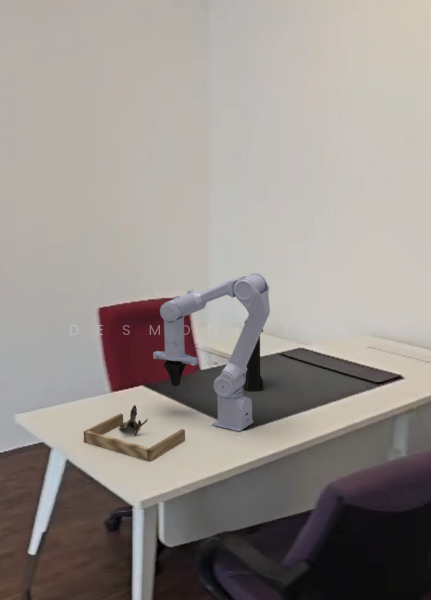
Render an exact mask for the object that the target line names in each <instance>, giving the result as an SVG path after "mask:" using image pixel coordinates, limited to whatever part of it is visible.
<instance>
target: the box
mask: <svg viewBox="0 0 431 600" xmlns="http://www.w3.org/2000/svg"><path fill="white" fill-rule="evenodd" d="M123 423H124V414H122V413H118V414H117V415H115V416H112V417H110V418H108V419H106V420H104V421H102V422H100V423H98V424H96V425H94V426H91V427H90V428H88V429H85V430H84V431H83V442H84V443H87V444H89V445H92V446H93V445H94V446H95V447H100V448H103V449H107V450H111V451H114V452H116V453H121V454H125V455H127V456H130V457H133V458H134V457H135V458H138V459H141V460H145V461H147V462H152V461H154V460H156V459H157V458H159V457H160V456H162V455H163V454H165V453H167V452H169V451H170V450H172V449H174V448H175V447H177V446H178V445H180V444H181V443H183V442H185V441H186V429H184V428H181V429H179V430H178V431H176V432H175V433H172V434H171V435H169V436H168V437H165V438H164V439H163V440H161V441H159V442H158V443H156V444H154V445H152V446H151V447H147V446H144V445H140V444H136V443H133V442H130V441H125V440H123V439H119V438H116V437H111V436H108V435H105V434H107V433H109V432H110V431H112V430H114V429H116V428H119V427H120V426H121V425H122V424H123Z"/></svg>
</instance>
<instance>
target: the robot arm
mask: <svg viewBox="0 0 431 600" xmlns="http://www.w3.org/2000/svg"><path fill="white" fill-rule="evenodd" d="M186 292H187V293H185V294H183V295H181V296H179V295H176V296H175V297H173V299H171V300H169V301H165V303H162V305H160V309H159V314H160V317H161V318H162V319H163V331H164V335H163V336H164V351H159V350H156V351H154V352H153V355H152V356H153V360H164V361H165V362H164V363H163V368H164V369H165V370H166V372H167V374H168V376H169V379H170V382H171V383H170V384H171V386H172V387H178V386H180V383H181V379H182V375H183V372H184V371H185V368H186V366H187V365H191V366H197V365H198V363H199V362H198V360H199V359H198V357H195V356H192V355H190V354H187V353H186V349H185V348H186V347H185V325H184V324H185V317H186V316H188V315H192V314H194V313H196V312H198V311H202V310H203V309H205V308H206V306H207V303H209V302H211V301H213V300H214V301H215V300H217V299H220V298H223V297H226V296H229V297H231V298H236V299H237V300H238V301H239V302H240V304H242V306H243V307H244V308H245V309H246V311H247V313H248V316H247V318H246V319H247V320H246V319H245V321H246V323H245V322H244V325H243V328H242V330H241V332H240V334H239V337H238V339H237V341H236V344H235V347H234V348H233V351H232V353H231V355H230V358H229V360H228V363H227V364H226V365H225V367H224V368H223V369H222V370H221V373H220V374H219V376H217V377H216V378H214V381H213V385H212V386H213V390H214V392H215V394H216V395H217V419H216V420H215V421H213V422H212V423H211V426H213V427H214V426H215V427H218V428H219V427H220V428H223V429H227V430H232V431H236V432H241V431H243V430H244V429H245V428H247V427H248V426H251V425H252V424H253V423H254V420H253V401H252V399H251V398H250V397H248V396H246V395H244V394H243V393H244V392H243V387H244V384H245V381H246V371H247V367H246V366H247V363H248V361H249V359H250V357H251V354H252V352H253V350H254V348H255V345H256V343H257V341H258V339H259V336H260V337H261V333H263V332H262V330H263V331H264V327H265V325H266V323H267V321H268V319H269V316H270V313H271V309H270V300H269V299H270V297H269V296H270V295H269V292H270V285H269V284H268V282H267V280H266V278H265V277H264V276H263V275H262V274H260V273H256V272H255V273H254V272H253V273H250V274H249V275H248V276H247V275H242V276H239V277H236V278H232V279H229V280H227V281H224V282H222V283H221V284H218V285H216V286H213V287H211V288H209V289H207V290H204V291H201V290H198V289H195V290H194V289H193V288H192V289H190V290H188V291H186Z"/></svg>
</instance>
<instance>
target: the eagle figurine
mask: <svg viewBox="0 0 431 600" xmlns="http://www.w3.org/2000/svg"><path fill="white" fill-rule="evenodd" d="M137 411H138V409H137V406H136V405H133V406H132V408H131V410H130V415H129V416H130V418H129V419H128V420H127V421H123V424H122V425H120V426H119V428H120V429H126V428H127V427H129V428H130V429H131V430H132V431H134V436H135V437H136V436H137V434H138V432H139V431H140V430H141V427H143V425H145V424H146V423H147V422H148V421H149V418H146V420H144V421H143V422H142V421H141V420H140V419H138V421H136V418H137V414H138V412H137Z"/></svg>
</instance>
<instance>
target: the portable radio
mask: <svg viewBox="0 0 431 600" xmlns="http://www.w3.org/2000/svg"><path fill="white" fill-rule="evenodd" d="M246 320H247V318H246V319H245V321H244V324H245V323H246ZM263 332H264V329H263V330H262V332H261V333H263ZM246 367H247V371H246V381H245V384H244V385H243V388H244V390H246V392H256V391H257V392H258V391H263V390H264V381H263V378H262V376H261V335H260V336H259V339H258V341H257V343H256V345H255V348H254V350H253V352H252V354H251V357H250V359H249V361H248V363H247V366H246Z"/></svg>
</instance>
